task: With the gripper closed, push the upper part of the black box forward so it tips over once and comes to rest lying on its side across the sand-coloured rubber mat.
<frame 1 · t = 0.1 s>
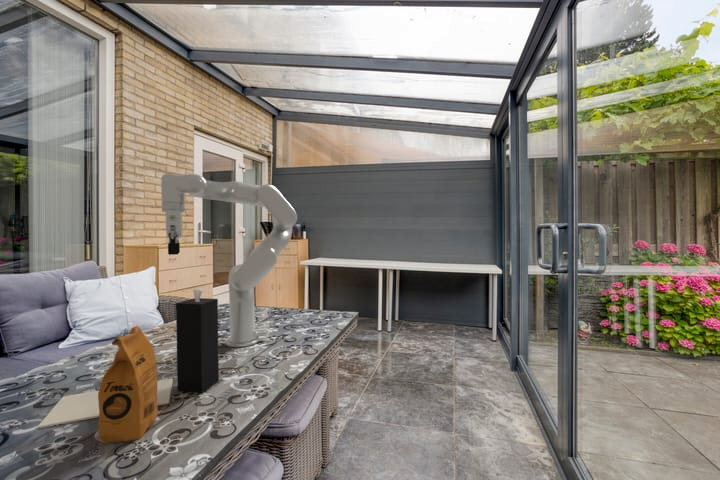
hand: (174, 253, 127), 37 cm above the table, tool pointing down, fingers open, 9 cm apart
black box: (198, 386, 98), on the table
coffee package: (130, 429, 77), on the table
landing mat: (114, 400, 90), on the table
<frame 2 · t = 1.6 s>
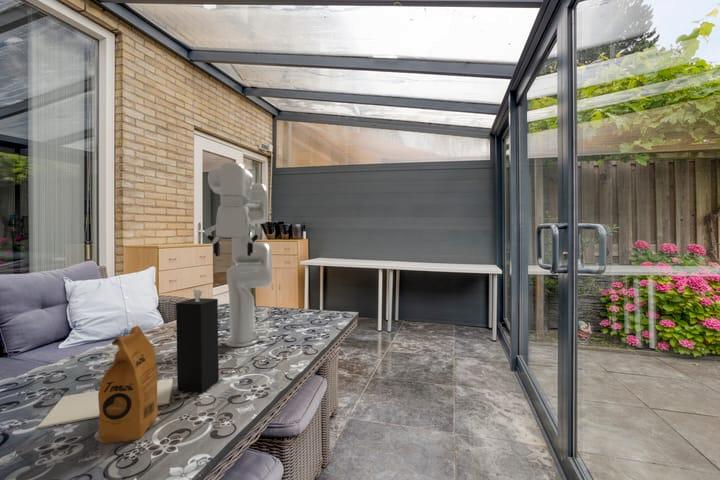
hand: (233, 255, 109), 37 cm above the table, tool pointing down, fingers open, 9 cm apart
nothing on the table moved.
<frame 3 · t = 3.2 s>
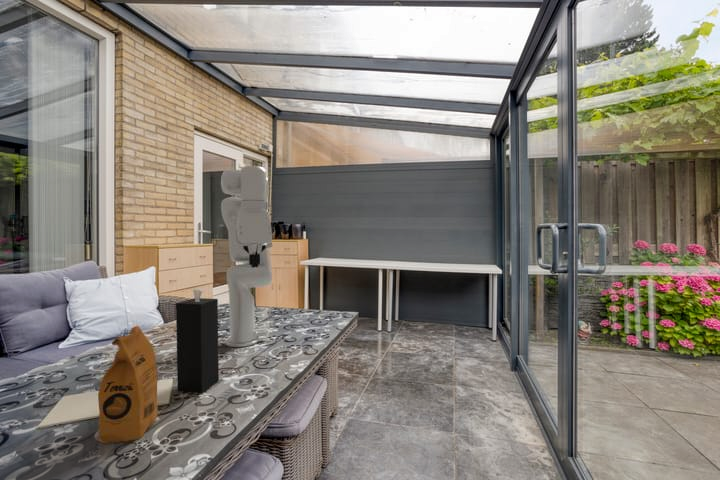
hand: (254, 267, 104), 34 cm above the table, tool pointing down, fingers closed
nothing on the table moved.
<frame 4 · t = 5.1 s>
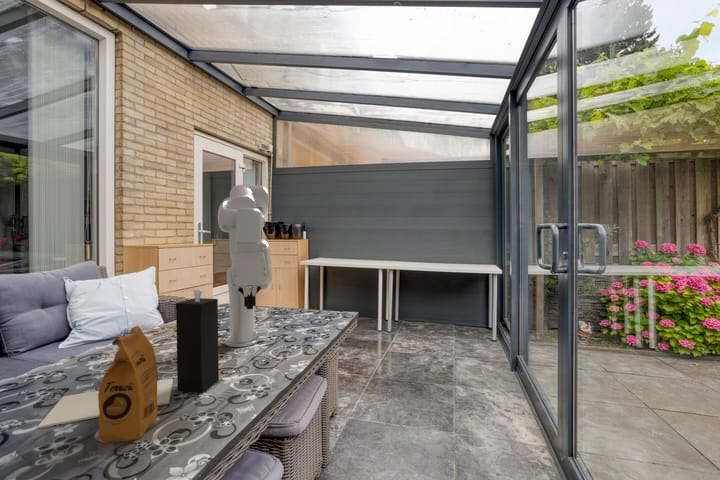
hand: (249, 308, 104), 21 cm above the table, tool pointing down, fingers closed
nothing on the table moved.
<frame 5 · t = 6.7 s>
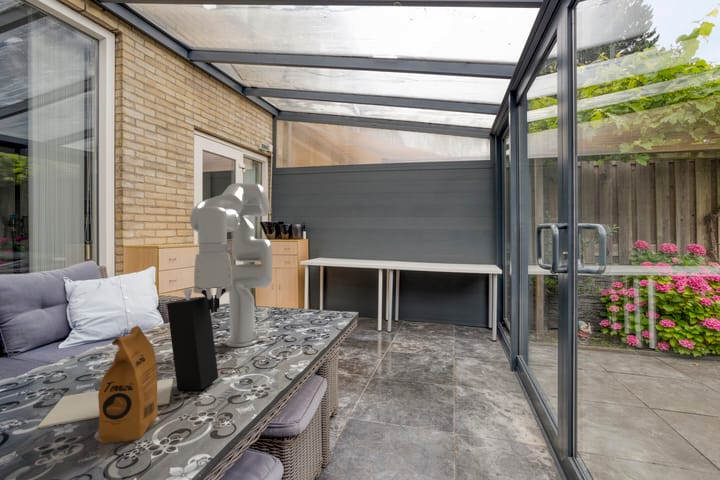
hand: (214, 311, 100), 21 cm above the table, tool pointing down, fingers closed
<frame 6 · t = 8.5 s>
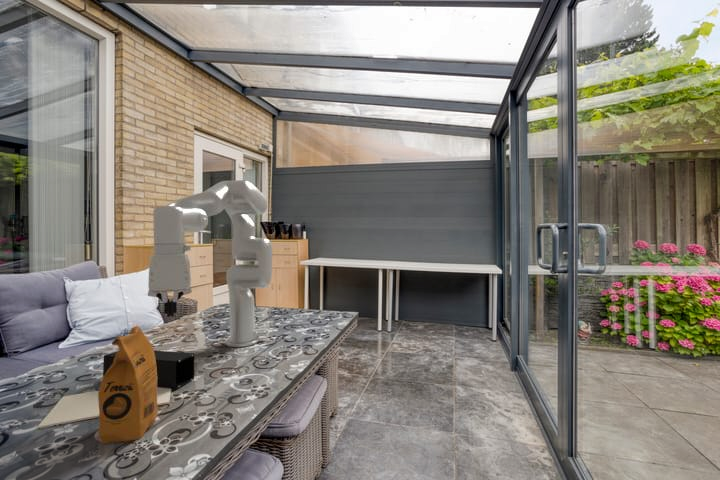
hand: (170, 315, 95), 21 cm above the table, tool pointing down, fingers closed
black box: (186, 370, 99), point 4 cm above the table, touching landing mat
everything else where it was.
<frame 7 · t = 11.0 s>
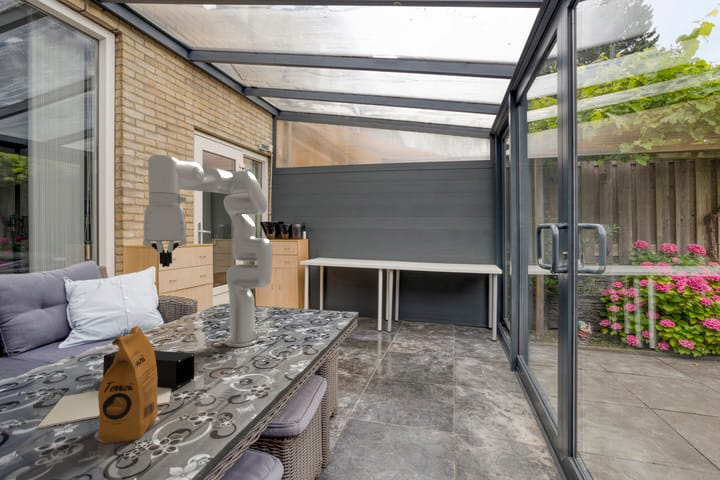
hand: (166, 266, 95), 35 cm above the table, tool pointing down, fingers closed
nothing on the table moved.
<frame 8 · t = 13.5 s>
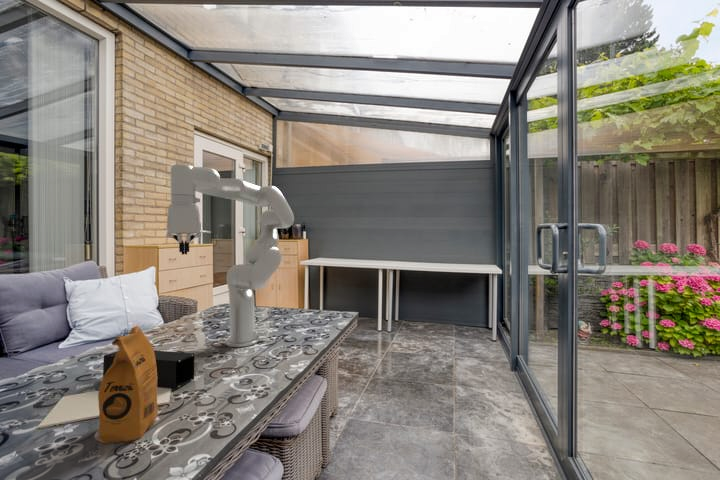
hand: (184, 254, 118), 37 cm above the table, tool pointing down, fingers closed
nothing on the table moved.
at the end: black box tilted 90°; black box touching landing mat, table; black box inside the target area (3.8 cm from its centre), point 4.2 cm above the table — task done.
